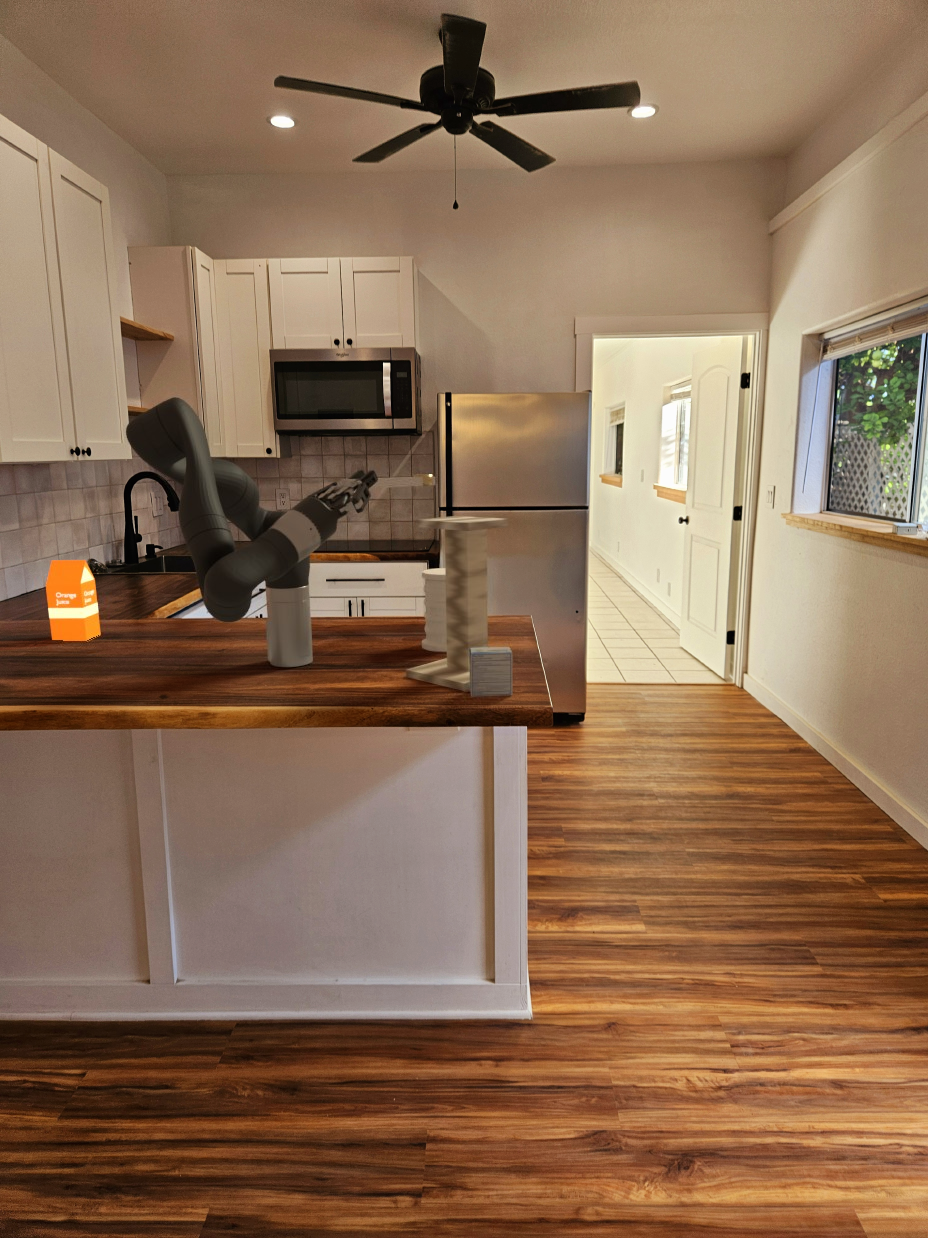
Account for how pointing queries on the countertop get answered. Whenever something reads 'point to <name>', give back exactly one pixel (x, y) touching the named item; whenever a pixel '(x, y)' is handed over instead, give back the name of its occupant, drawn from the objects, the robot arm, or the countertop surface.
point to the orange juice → (72, 601)
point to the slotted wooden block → (396, 481)
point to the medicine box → (490, 671)
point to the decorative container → (435, 610)
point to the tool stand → (461, 597)
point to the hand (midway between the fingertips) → (368, 474)
